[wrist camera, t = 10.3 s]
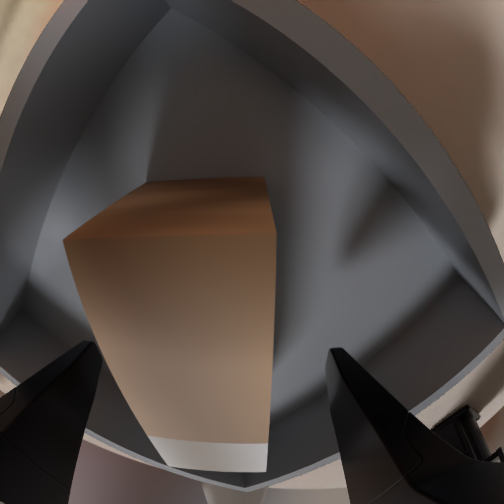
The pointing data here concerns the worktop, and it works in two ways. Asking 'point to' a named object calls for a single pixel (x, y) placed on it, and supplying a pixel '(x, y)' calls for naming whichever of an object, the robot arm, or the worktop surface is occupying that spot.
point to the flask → (232, 495)
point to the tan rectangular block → (187, 314)
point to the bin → (280, 195)
